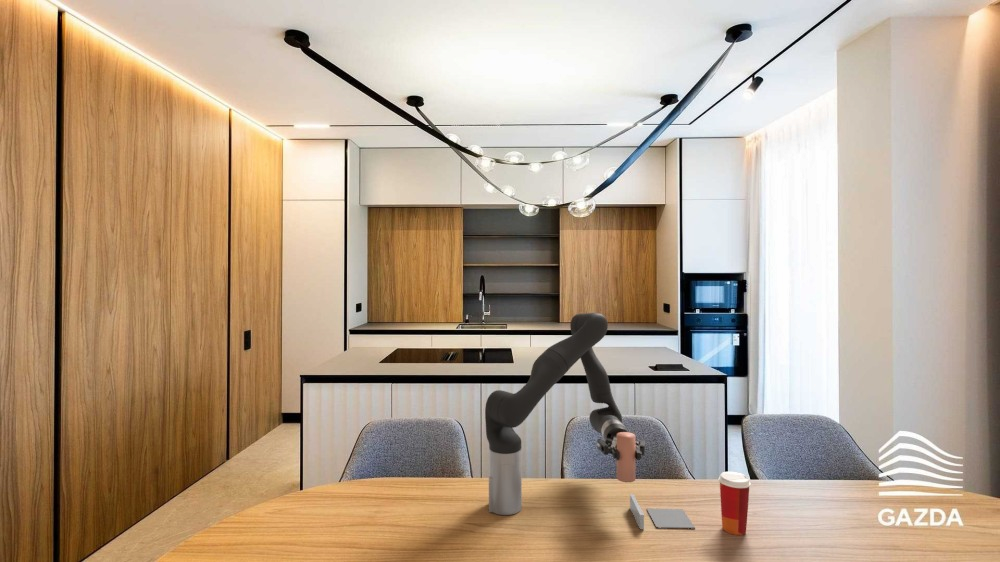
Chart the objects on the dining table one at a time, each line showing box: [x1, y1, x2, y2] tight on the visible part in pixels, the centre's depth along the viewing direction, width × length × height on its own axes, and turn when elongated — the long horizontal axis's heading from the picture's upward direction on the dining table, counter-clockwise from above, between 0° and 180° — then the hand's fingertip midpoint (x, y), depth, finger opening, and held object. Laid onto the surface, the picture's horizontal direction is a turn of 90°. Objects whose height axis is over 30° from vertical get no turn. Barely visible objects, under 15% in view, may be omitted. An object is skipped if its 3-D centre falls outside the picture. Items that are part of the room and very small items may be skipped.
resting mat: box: [646, 508, 696, 530], centre depth 136 cm, size 10×10×1 cm
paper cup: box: [717, 471, 752, 536], centre depth 130 cm, size 8×8×14 cm
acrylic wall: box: [629, 493, 645, 530], centre depth 136 cm, size 1×12×4 cm, turn 178°
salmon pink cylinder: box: [616, 431, 636, 483], centre depth 137 cm, size 5×5×12 cm
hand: (628, 456), depth 134 cm, fingers closed on salmon pink cylinder, 5 cm apart
